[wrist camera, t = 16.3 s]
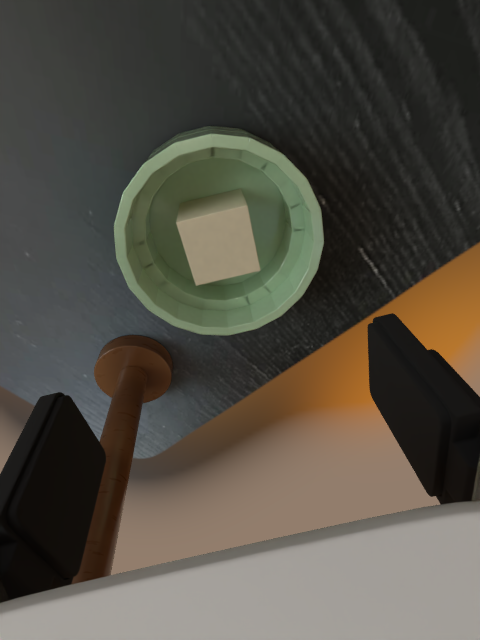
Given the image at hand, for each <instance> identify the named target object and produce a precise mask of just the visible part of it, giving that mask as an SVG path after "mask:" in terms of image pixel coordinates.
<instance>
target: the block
mask: <svg viewBox="0 0 480 640" xmlns="http://www.w3.org/2000/svg"><path fill="white" fill-rule="evenodd" d="M176 224H177V227H178V230H179V234H180V237H181V240H182V243H183V246H184V249H185V253H186V256H187V259H188V262H189V265H190V269H191V272H192V275H193V278H194V281H195V284H196V286H197V285H202V284H206V283H210V282H214V281H219V280H223V279H227V278H232V277H236V276H240V275H244V274H249V273H253V272H257V271H260V265H259V260H258V255H257V250H256V245H255V240H254V235H253V230H252V225H251V220H250V215H249V210H248V206H247V203H246V200H245V198H244V195H243V193H242V190H241V189H236V190H232V191H228V192H224V193H219V194H215V195H211V196H207V197H203V198H199V199H195V200H191V201H187V202H183V203H180V205H179V210H178V216H177V221H176Z"/></svg>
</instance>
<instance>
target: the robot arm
mask: <svg viewBox="0 0 480 640" xmlns="http://www.w3.org/2000/svg"><path fill="white" fill-rule="evenodd" d="M368 351H369V352H368V354H369V384H370V393H371V396H372V398H373V400H374V402H375V404H376V405H377V407H378V409H379V410H380V412H381V414H382V416H383V418H384V419H385V421H386V423H387V425H388V426H389V428H390V430H391V431H392V433H393V435H394V437H395V438H396V440H397V442H398V443H399V445H400V447H401V449H402V450H403V452H404V454H405V456H406V457H407V459H408V461H409V462H410V464H411V466H412V468H413V469H414V471H415V473H416V475H417V476H418V478H419V480H420V482H421V483H422V485H423V487H424V488H425V490H426V492H427V493H428V495H429V496H431V497H432V496H436V497H437V499H438V500H439V502H440V504H441V505H435V506H428V507H422V508H418V509H413V510H408V511H402V512H397V513H393V514H387V515H382V516H377V517H372V518H368V519H363V520H358V521H353V522H349V523H344V524H339V525H335V526H330V527H326V528H321V529H317V530H312V531H307V532H303V533H298V534H293V535H289V536H284V537H280V538H275V539H271V540H266V541H262V542H257V543H252V544H248V545H244V546H239V547H234V548H230V549H225V550H221V551H216V552H212V553H208V554H203V555H199V556H194V557H190V558H185V559H181V560H176V561H172V562H167V563H163V564H159V565H155V566H150V567H146V568H141V569H137V570H133V571H128V572H124V573H119V574H115V575H110V576H106V577H102V578H97V579H93V580H89V581H84V582H80V583H75V584H72V581H73V577H75V576H76V575H77V574H78V572H79V570H80V566H81V562H82V558H83V554H84V550H85V546H86V542H87V537H88V533H89V529H90V525H91V521H92V517H93V513H94V509H95V504H96V500H97V496H98V492H99V488H100V484H101V480H102V476H103V471H104V467H105V463H106V453H105V451H104V449H103V447H102V445H101V444H100V442H99V441H98V439H97V438H96V436H95V434H94V433H93V431H92V430H91V428H90V427H89V425H88V424H87V422H86V420H85V419H84V417H83V416H82V414H81V413H80V411H79V409H78V408H77V406H76V405H75V403H74V402H73V400H72V398H71V397H70V396H68V395H66V396H65V395H64V394H63V393H61V392H59V393H54V394H50V395H46V396H42V397H40V398H39V400H38V402H37V403H36V405H35V407H34V409H33V411H32V414H31V415H30V417H29V419H28V421H27V423H26V425H25V427H24V429H23V431H22V433H21V435H20V437H19V439H18V441H17V443H16V445H15V446H14V448H13V450H12V452H11V455H10V456H9V458H8V460H7V462H6V464H5V466H4V468H3V470H2V472H1V474H0V640H480V397H479V396H478V395H477V394H476V393H475V392H474V391H473V389H472V388H471V387H470V386H469V385H468V384H467V383H466V382H465V381H464V380H463V379H462V378H461V377H460V375H459V374H457V372H456V371H455V370H454V369H453V368H452V367H451V366H450V365H449V364H448V363H447V362H446V361H445V359H444V358H443V357H442V356H441V355H440V354H439V353H438V352H436V351H435V350H432V349H431V350H427V349H426V348H425V347H424V346H423V345H422V344H421V343H420V341H419V340H418V339H417V338H416V337H415V336H414V335H413V334H412V333H411V331H410V330H409V329H408V328H407V327H406V326H405V325H404V324H403V323H402V321H401V320H400V319H399V318H398V317H397V316H396V315H395V314H388V315H384V316H380V317H376V318H374V319H373V323H371V324H369V325H368Z"/></svg>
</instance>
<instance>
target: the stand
mask: <svg viewBox="0 0 480 640" xmlns="http://www.w3.org/2000/svg"><path fill="white" fill-rule="evenodd" d="M172 369H173V364H172V359H171V356H170V354H169V353H168V351H167V350H166V349H165V348H164V347H163V346H162V345H161V344H160V343H158V342H157V341H155V340H153V339H150V338H148V337H144V336H138V335H127V336H122V337H118V338H116V339H114V340H112V341H110V342H109V343H107V344H106V345H105V346H104V347H103V349H102V350H101V352H100V354H99V357H98V359H97V362H96V365H95V368H94V376H95V380H96V382H97V384H98V386H99V387H100V389H101V390H102V391H103V392H104V393H106V394H107V395H108V396H110V397H112V401H111V404H110V408H109V411H108V414H107V418H106V421H105V425H104V428H103V432H102V435H101V439H100V444H101V445H102V447H103V449H104V451H105V453H106V463H105V467H104V471H103V476H102V480H101V484H100V488H99V492H98V496H97V500H96V504H95V509H94V513H93V517H92V521H91V525H90V529H89V533H88V537H87V542H86V546H85V550H84V554H83V558H82V562H81V566H80V570H79V572H78V574H77V575H76V576H75V577H73V581H72V584H75V583H80V582H84V581H89V580H93V579H97V578H102V577H106V576H110V575H111V570H112V564H113V559H114V554H115V548H116V543H117V538H118V532H119V527H120V522H121V516H122V510H123V505H124V500H125V495H126V489H127V484H128V479H129V473H130V468H131V462H132V458H133V452H134V447H135V442H136V436H137V431H138V425H139V420H140V415H141V409H142V404H143V403H146V402H149V401H152V400H155V399H157V398H159V397H160V396H161V395H163V394H164V393H165V392H166V390H167V389H168V387H169V386H170V383H171V378H172Z"/></svg>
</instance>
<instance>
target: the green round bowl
mask: <svg viewBox="0 0 480 640" xmlns="http://www.w3.org/2000/svg"><path fill="white" fill-rule="evenodd" d="M236 189H241V190H242V193H243V195H244V198H245V200H246V203H247V206H248V210H249V215H250V220H251V225H252V230H253V235H254V240H255V245H256V250H257V255H258V260H259V265H260V271H257V272H253V273H249V274H244V275H240V276H236V277H232V278H227V279H223V280H219V281H214V282H210V283H206V284H202V285H197V286H196V284H195V281H194V278H193V275H192V272H191V269H190V265H189V262H188V259H187V256H186V253H185V249H184V246H183V243H182V240H181V237H180V234H179V230H178V227H177V224H176V221H177V216H178V210H179V205H180V203H183V202H187V201H191V200H195V199H199V198H203V197H207V196H211V195H215V194H219V193H224V192H228V191H232V190H236ZM114 237H115V250H116V258H117V261H118V264H119V266H120V268H121V271H122V273H123V275H124V278H125V280H126V282H127V285H128V286H129V288H130V290H131V291H132V292H133V293H134V294H135V295H136V296H137V298H138V299H139V300H140V301H141V302H142V303H143V305H144V306H145V307H146V308H147V309H148V310H149V311H151V312H152V313H154V314H155V315H157V316H159V317H160V318H162V319H163V320H165V321H166V322H168V323H169V324H171V325H173V326H175V327H179V328H182V329H185V330H188V331H192V332H195V333H198V334H205V335H232V334H236V333H241V332H245V331H250V330H254V329H256V328H259V327H261V326H263V325H265V324H267V323H269V322H271V321H273V320H274V319H276V318H278V317H280V316H281V315H283V314H284V313H285V312H286V311H287V310H288V309H289V308H290V307H291V306H292V305H293V304H295V303H296V302H297V301H298V300H299V299H300V298H301V297H302V296H303V294H304V293H305V291H306V289H307V287H308V286H309V284H310V282H311V281H312V279H313V277H314V275H315V274H316V272H317V270H318V266H319V262H320V257H321V253H322V249H323V244H324V234H323V223H322V212H321V208H320V205H319V203H318V201H317V199H316V197H315V194H314V192H313V190H312V188H311V186H310V183H309V181H308V180H307V178H306V177H305V176H304V175H303V174H302V173H301V172H300V171H299V170H298V169H297V168H296V167H295V166H294V165H293V164H292V163H291V161H290V160H289V159H288V158H287V157H286V156H285V155H284V154H283V153H281V152H280V151H279V150H278V149H276V148H275V147H274V146H273V145H271V144H270V143H269V142H267V141H265V140H263V139H261V138H259V137H257V136H255V135H253V134H251V133H249V132H247V131H245V130H243V129H242V130H241V129H237V128H228V127H219V126H206V127H202V128H198V129H194V130H190V131H186V132H182V133H180V134H177V135H176V136H174V137H173V138H171V139H170V140H169V141H167V142H166V143H164V144H163V145H161V146H160V147H158V148H157V149H155V150H154V151H153V152H152V153H151V155H150V156H149V157H148V158H147V160H146V161H145V162H144V164H143V165H142V166H141V168H140V169H139V171H138V172H137V173H136V175H135V176H134V178H133V179H132V181H131V182H130V183H129V185H128V186H127V188H126V189H125V190H124V192H123V194H122V197H121V201H120V204H119V208H118V212H117V216H116V219H115V223H114Z"/></svg>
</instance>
